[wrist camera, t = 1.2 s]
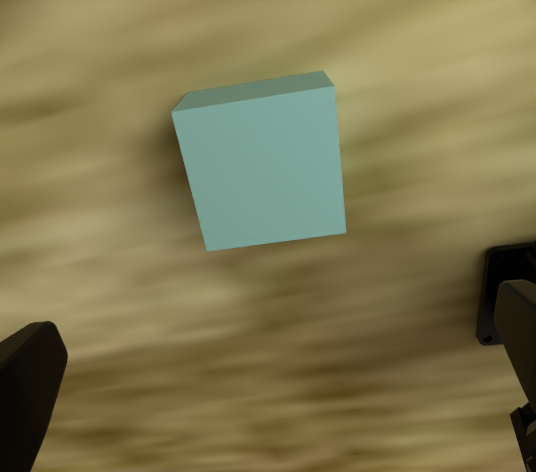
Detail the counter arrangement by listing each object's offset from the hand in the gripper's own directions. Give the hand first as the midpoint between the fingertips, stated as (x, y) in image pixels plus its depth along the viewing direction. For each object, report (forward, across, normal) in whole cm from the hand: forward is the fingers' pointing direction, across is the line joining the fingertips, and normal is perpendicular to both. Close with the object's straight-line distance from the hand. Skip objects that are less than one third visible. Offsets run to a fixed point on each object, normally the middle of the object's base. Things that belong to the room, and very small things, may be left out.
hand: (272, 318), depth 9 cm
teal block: (+13, 0, 0) cm, 13 cm away
